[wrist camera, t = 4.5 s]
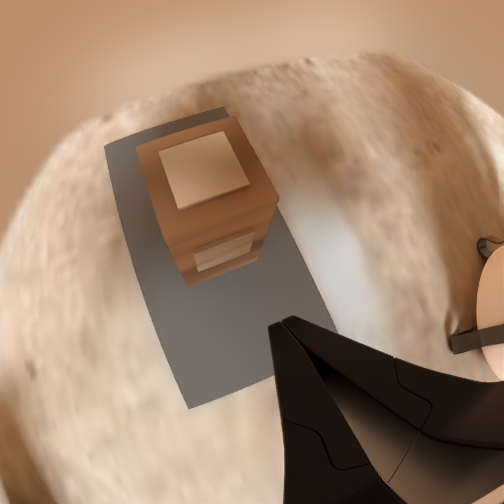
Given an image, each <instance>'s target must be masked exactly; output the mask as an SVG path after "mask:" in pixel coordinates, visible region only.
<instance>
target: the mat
mask: <svg viewBox="0 0 504 504" xmlns="http://www.w3.org/2000/svg"><path fill="white" fill-rule="evenodd" d="M228 117H229V116H228V114H227V112H226V110H225V108H224V107H222V108H218V109H214V110H210V111H207V112H203V113H199V114H196V115H193V116H189V117H186V118H182V119H179V120H176V121H173V122H170V123H167V124H163V125H160V126H157V127H154V128H152V129H149V130H146V131H143V132H140V133H137V134H135V135H132V136H129V137H127V138H124V139H121V140H119V141H116V142H114V143H111V144H109V145H106V146H104V149H105V154H106V159H107V164H108V169H109V173H110V178H111V182H112V187H113V191H114V195H115V200H116V204H117V208H118V212H119V216H120V219H121V223H122V227H123V231H124V234H125V238H126V242H127V245H128V249H129V252H130V255H131V259H132V262H133V265H134V268H135V272H136V275H137V278H138V281H139V284H140V287H141V290H142V293H143V296H144V299H145V302H146V305H147V308H148V311H149V314H150V316H151V319H152V322H153V325H154V327H155V330H156V333H157V335H158V338H159V340H160V343H161V346H162V348H163V351H164V353H165V356H166V358H167V361H168V363H169V366H170V368H171V370H172V373H173V375H174V377H175V380H176V382H177V384H178V387H179V389H180V391H181V393H182V396H183V398H184V400H185V402H186V404H187V407H188V409H191V408H194V407H197V406H199V405H202V404H205V403H208V402H210V401H213V400H215V399H218V398H221V397H223V396H226V395H228V394H231V393H233V392H236V391H238V390H241V389H243V388H245V387H248V386H250V385H253V384H255V383H257V382H259V381H262V380H264V379H266V378H269V377H271V376H273V375H274V369H273V362H272V356H271V349H270V342H269V335H268V326H269V325H271V324H274V323H276V322H278V321H280V322H281V321H282V320H283V319H285V318H287V317H289V316H291V315H296V316H298V317H300V318H303V319H305V320H307V321H310V322H312V323H314V324H316V325H319V326H321V327H323V328H326V329H328V330H330V331H333V332H335V333H337V334H338V332H337V330H336V328H335V325H334V323H333V321H332V319H331V317H330V315H329V312H328V310H327V308H326V306H325V304H324V302H323V300H322V297H321V295H320V293H319V291H318V289H317V287H316V285H315V283H314V280H313V278H312V276H311V274H310V272H309V270H308V268H307V266H306V264H305V262H304V260H303V258H302V256H301V254H300V252H299V249H298V247H297V245H296V243H295V241H294V239H293V237H292V235H291V233H290V231H289V229H288V227H287V225H286V223H285V221H284V219H283V217H282V215H281V213H280V211H279V209H278V208H277V206H276V208H275V211H274V214H273V217H272V220H271V222H270V225H269V228H268V231H267V234H266V236H265V239H264V242H263V245H262V247H261V250H260V253H259V256H258V259H257V261H254V262H252V263H249V264H247V265H244V266H242V267H239V268H236V269H234V270H231V271H229V272H226V273H224V274H221V275H219V276H216V277H213V278H211V279H208V280H206V281H203V282H201V283H198V284H196V285H193V286H190V287H187V285H186V283H185V281H184V279H183V277H182V275H181V273H180V271H179V269H178V267H177V265H176V263H175V261H174V259H173V257H172V255H171V253H170V251H169V249H168V246H167V244H166V242H165V240H164V238H163V235H162V232H161V229H160V226H159V223H158V220H157V217H156V214H155V211H154V207H153V204H152V201H151V198H150V195H149V192H148V188H147V185H146V182H145V178H144V175H143V172H142V168H141V165H140V161H139V158H138V154H137V151H136V146H139V145H142V144H144V143H147V142H150V141H153V140H156V139H159V138H162V137H165V136H168V135H171V134H174V133H177V132H180V131H183V130H186V129H189V128H193V127H196V126H199V125H203V124H206V123H210V122H213V121H217V120H221V119H224V118H228Z"/></svg>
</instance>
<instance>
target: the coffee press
mask: <svg viewBox="0 0 504 504" xmlns="http://www.w3.org/2000/svg"><path fill="white" fill-rule="evenodd" d="M486 240H487V241H490V242H492V243H496V244H501V243H504V240H502V239H499V238H496V237H493V236H486V237H483V238H480V239H479V240H478V243H477V248H478V251H479V253H480V254H481V255H483V256H484V257H485V258H487V259H488V261H487V262H486V264H485V266H484V269H483V271H482V274H481V278H480V282H479V286H478V293H477V306H476V314H477V327H475V328H473V329H470V330H467V331H464V332H461V333H458V334H456V335H453V336H451V337H450V339H451V344H452V349H453V354H460V353H464V352H467V351H470V350H474V349H477V348H481V347H482V351H483V354H484V356H485V359H486V361H487V363H488V365H489V366H490V368H491V370H492V371H493V372H494V374H495V375H496V376H497V377H498V378H499V379H501V380H502V381H504V245H503V246H501V247H500V248H498V249H497V250H496V251H494V252H493V253H492V252H490V251H489V250H488V249H487V247H486Z"/></svg>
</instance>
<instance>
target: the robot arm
mask: <svg viewBox="0 0 504 504" xmlns="http://www.w3.org/2000/svg"><path fill="white" fill-rule="evenodd" d="M268 335H269V342H270V349H271V356H272V362H273V369H274V376H275V383H276V390H277V397H278V404H279V411H280V418H281V426H282V433H283V443H284V494H283V504H504V381H499V382H479V381H474V380H470V379H465V378H461V377H457V376H453V375H449V374H445V373H441V372H437V371H433V370H430V369H427V368H423V367H420V366H417V365H415V364H412V363H409V362H406V361H404V360H401V359H399V358H394V357H393V356H391V355H388V354H386V353H383V352H381V351H378V350H376V349H373V348H371V347H369V346H366V345H364V344H361V343H359V342H356V341H354V340H352V339H349V338H347V337H345V336H342V335H340V334H337V333H335V332H333V331H330V330H328V329H326V328H323V327H321V326H319V325H316V324H314V323H312V322H310V321H307V320H305V319H303V318H300V317H298V316H296V315H291V316H289V317H287V318H285V319H283V320H282V321H281V322H280V321H278V322H276V323H274V324H271V325H269V326H268ZM371 464H372V465H371ZM373 466H374V467H373ZM375 469H376V470H377V471H378V473H379V474H380V475H381V476H382V477H383V479H384V480H385V481H386V482H387V483H388V485H389V486H390V487H391V488H392V489H391V488H390V487H389V486H388V485H387V484H386V483H385V482H384V481H383V480H382V478H381V477H380V476H379V474H378V473H377V471H376V470H375Z"/></svg>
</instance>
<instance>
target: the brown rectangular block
mask: <svg viewBox="0 0 504 504" xmlns="http://www.w3.org/2000/svg"><path fill="white" fill-rule="evenodd" d="M136 151H137V154H138V158H139V161H140V165H141V168H142V172H143V175H144V178H145V182H146V185H147V188H148V192H149V195H150V198H151V201H152V204H153V207H154V211H155V214H156V217H157V220H158V223H159V226H160V229H161V232H162V235H163V238H164V240H165V242H166V244H167V246H168V249H169V251H170V253H171V255H172V257H173V259H174V261H175V263H176V265H177V267H178V269H179V271H180V273H181V275H182V277H183V279H184V281H185V283H186V285H187V287H190V286H193V285H196V284H198V283H201V282H203V281H206V280H208V279H211V278H213V277H216V276H219V275H221V274H224V273H226V272H229V271H231V270H234V269H236V268H239V267H242V266H244V265H247V264H249V263H252V262H254V261H257V259H258V256H259V253H260V250H261V247H262V245H263V242H264V239H265V236H266V234H267V231H268V228H269V225H270V222H271V220H272V217H273V214H274V211H275V208H276V206H277V203H278V200H279V197H278V195H277V193H276V191H275V189H274V187H273V185H272V183H271V181H270V180H269V178H268V176H267V174H266V172H265V170H264V168H263V166H262V165H261V163H260V161H259V159H258V157H257V155H256V154H255V152H254V150H253V148H252V146H251V145H250V143H249V141H248V139H247V137H246V135H245V134H244V132H243V130H242V128H241V127H240V125H239V123H238V121H237V120H236V118H235V116H232V117H228V118H224V119H221V120H217V121H213V122H210V123H206V124H203V125H199V126H196V127H193V128H189V129H186V130H183V131H180V132H177V133H174V134H171V135H168V136H165V137H162V138H159V139H156V140H153V141H150V142H147V143H144V144H142V145H139V146H136Z"/></svg>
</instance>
